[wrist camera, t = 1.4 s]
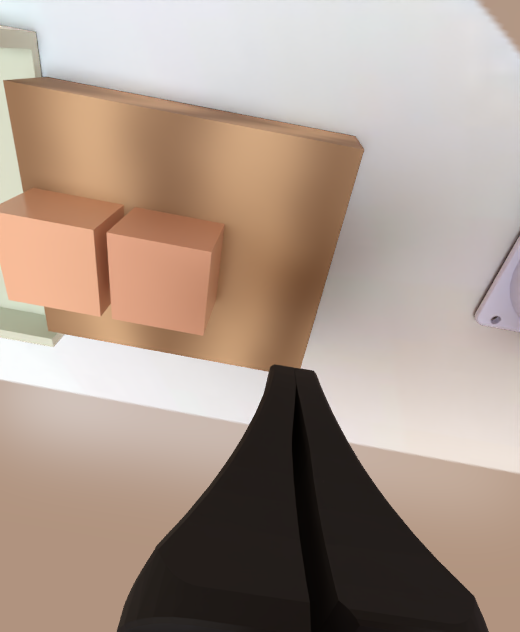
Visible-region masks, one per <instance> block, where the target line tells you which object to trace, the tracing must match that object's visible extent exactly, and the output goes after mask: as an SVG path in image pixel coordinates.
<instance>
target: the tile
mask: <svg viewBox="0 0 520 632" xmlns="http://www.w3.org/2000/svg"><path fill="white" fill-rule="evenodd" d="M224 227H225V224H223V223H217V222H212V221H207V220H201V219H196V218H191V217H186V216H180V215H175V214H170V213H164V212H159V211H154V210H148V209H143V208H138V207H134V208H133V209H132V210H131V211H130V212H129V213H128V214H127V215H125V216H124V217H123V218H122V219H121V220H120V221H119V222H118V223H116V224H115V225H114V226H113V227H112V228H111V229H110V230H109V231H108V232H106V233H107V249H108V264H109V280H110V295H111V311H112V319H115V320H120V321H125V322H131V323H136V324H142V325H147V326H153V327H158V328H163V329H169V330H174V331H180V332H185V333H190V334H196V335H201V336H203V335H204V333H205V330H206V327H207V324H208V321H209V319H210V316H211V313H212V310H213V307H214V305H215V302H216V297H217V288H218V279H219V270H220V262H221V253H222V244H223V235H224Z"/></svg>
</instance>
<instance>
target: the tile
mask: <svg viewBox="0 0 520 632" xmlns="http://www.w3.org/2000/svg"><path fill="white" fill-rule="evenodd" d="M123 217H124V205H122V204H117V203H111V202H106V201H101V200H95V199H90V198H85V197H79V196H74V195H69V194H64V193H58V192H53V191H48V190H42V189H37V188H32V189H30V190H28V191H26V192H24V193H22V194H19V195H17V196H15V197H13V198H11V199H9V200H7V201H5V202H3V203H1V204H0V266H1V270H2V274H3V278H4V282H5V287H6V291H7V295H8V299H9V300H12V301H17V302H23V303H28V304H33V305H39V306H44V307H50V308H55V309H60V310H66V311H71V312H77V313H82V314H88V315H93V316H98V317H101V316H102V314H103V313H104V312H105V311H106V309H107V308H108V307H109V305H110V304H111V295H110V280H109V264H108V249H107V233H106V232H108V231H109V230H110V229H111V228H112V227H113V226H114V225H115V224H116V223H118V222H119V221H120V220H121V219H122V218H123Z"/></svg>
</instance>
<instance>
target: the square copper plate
mask: <svg viewBox="0 0 520 632" xmlns="http://www.w3.org/2000/svg"><path fill="white" fill-rule="evenodd" d="M3 84H4V89H5V95H6V100H7V106H8V111H9V117H10V122H11V128H12V133H13V139H14V144H15V150H16V155H17V161H18V167H19V172H20V178H21V183H22V189H23V193H24V192H26V191H28V190H30V189H32V188H37V189H42V190H48V191H53V192H58V193H64V194H69V195H74V196H79V197H85V198H90V199H95V200H101V201H106V202H111V203H117V204H122V205H124V216H125V215H127V214H128V213H129V212H130V211H131V210H132V209H133V208H134V207H138V208H143V209H148V210H154V211H159V212H164V213H170V214H175V215H180V216H186V217H191V218H196V219H201V220H207V221H212V222H217V223H223V224H225V227H224V235H223V244H222V253H221V262H220V270H219V279H218V288H217V297H216V302H215V305H214V307H213V310H212V313H211V316H210V319H209V321H208V324H207V327H206V330H205V333H204V335H203V336H201V335H196V334H190V333H185V332H180V331H174V330H169V329H163V328H158V327H153V326H147V325H142V324H136V323H131V322H125V321H120V320H115V319H112V311H111V304H110V305H109V307H108V308H107V309H106V311H105V312H104V313H103V314H102V316H101V317H98V316H93V315H88V314H82V313H77V312H71V311H66V310H60V309H55V308H50V307H44V310H45V316H46V321H47V327H48V331H51V332H56V333H62V334H67V335H73V336H78V337H84V338H89V339H94V340H100V341H105V342H111V343H116V344H122V345H127V346H133V347H138V348H143V349H149V350H154V351H160V352H165V353H171V354H176V355H181V356H187V357H192V358H198V359H203V360H209V361H214V362H220V363H225V364H230V365H236V366H241V367H247V368H252V369H258V370H263V371H269V369H270V366H272V365H274V364H276V365H282V366H288V367H294V368H301V364H302V361H303V357H304V354H305V350H306V347H307V344H308V340H309V337H310V333H311V330H312V327H313V323H314V320H315V316H316V313H317V309H318V306H319V303H320V299H321V296H322V292H323V289H324V285H325V282H326V279H327V275H328V272H329V268H330V265H331V261H332V258H333V255H334V251H335V248H336V244H337V241H338V237H339V234H340V231H341V227H342V224H343V220H344V217H345V214H346V210H347V207H348V203H349V200H350V196H351V193H352V190H353V186H354V183H355V179H356V176H357V172H358V169H359V166H360V162H361V159H362V155H363V152H364V149H363V147H362V145H361V144H360V142H359V141H358V139H357V138H356V136H351V135H346V134H340V133H335V132H330V131H325V130H320V129H314V128H309V127H304V126H299V125H294V124H288V123H283V122H278V121H273V120H268V119H262V118H257V117H252V116H247V115H242V114H236V113H231V112H226V111H221V110H216V109H210V108H205V107H200V106H195V105H190V104H184V103H179V102H174V101H169V100H164V99H158V98H153V97H148V96H143V95H138V94H132V93H127V92H122V91H117V90H112V89H106V88H101V87H96V86H91V85H86V84H80V83H75V82H70V81H65V80H60V79H54V78H49V77H38V78H25V79H12V80H3Z"/></svg>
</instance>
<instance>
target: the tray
mask: <svg viewBox="0 0 520 632" xmlns="http://www.w3.org/2000/svg"><path fill="white" fill-rule="evenodd" d="M38 77H42V76H41V68H40V60H39V53H38V45H37V38H36V32H33V31H28V30H23V29H18V28H13V27H8V26H2V25H0V204H1V203H3V202H5V201H7V200H9V199H11V198H13V197H15V196H17V195H19V194H22V193H23V189H22V183H21V178H20V172H19V167H18V161H17V155H16V150H15V144H14V139H13V133H12V128H11V122H10V117H9V111H8V106H7V100H6V95H5V89H4V84H3V80H12V79H25V78H38ZM63 335H64V334H62V333H56V332H51V331H48V327H47V321H46V316H45V310H44V306H39V305H33V304H28V303H23V302H17V301H12V300H9V299H8V295H7V291H6V287H5V282H4V278H3V274H2V270H1V266H0V337H1V338H6V339H12V340H17V341H23V342H28V343H34V344H39V345H44V346H50V347H54V346H55V345H56V344H57V342H58V341H59V340H60V339H61V338H62V337H63Z"/></svg>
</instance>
